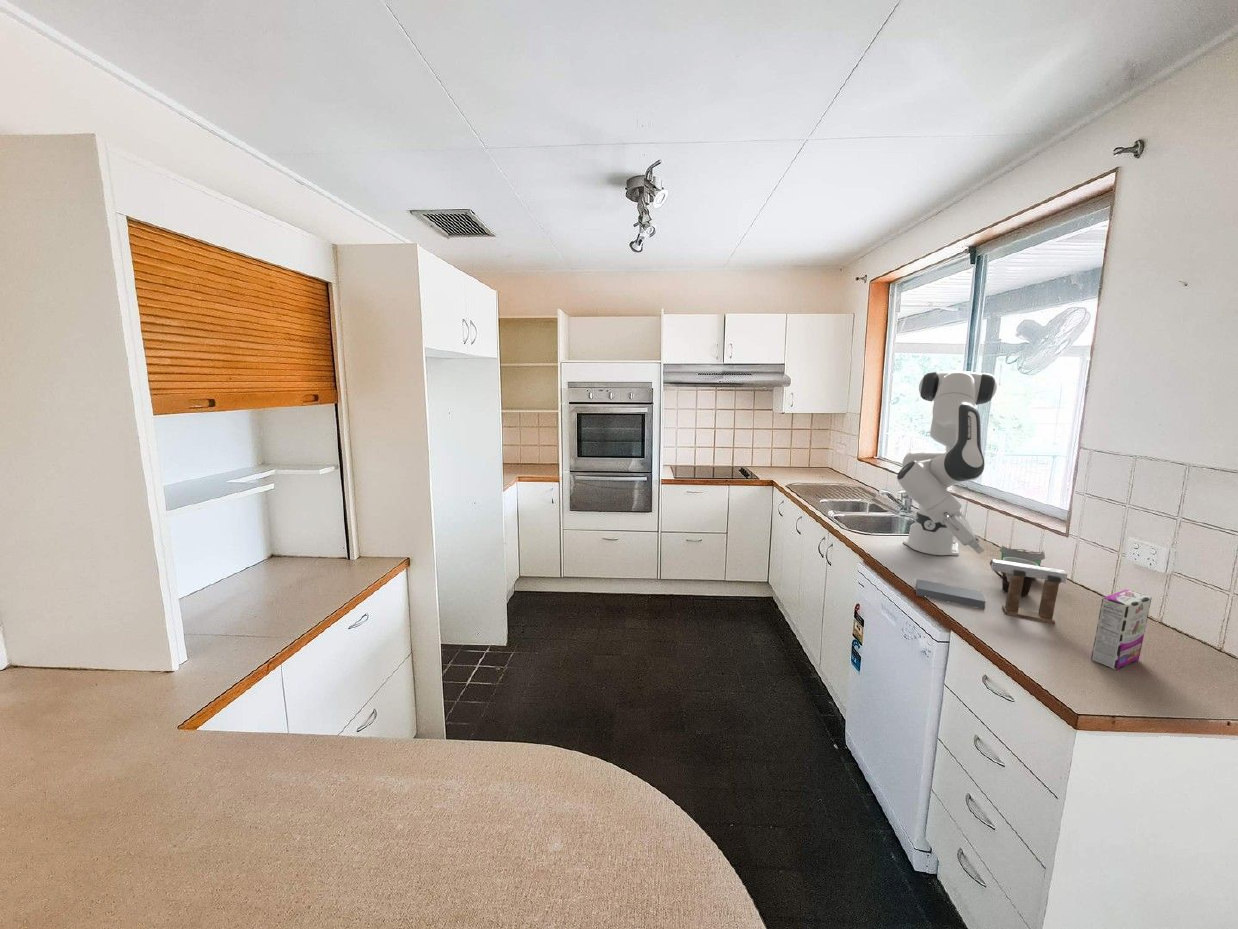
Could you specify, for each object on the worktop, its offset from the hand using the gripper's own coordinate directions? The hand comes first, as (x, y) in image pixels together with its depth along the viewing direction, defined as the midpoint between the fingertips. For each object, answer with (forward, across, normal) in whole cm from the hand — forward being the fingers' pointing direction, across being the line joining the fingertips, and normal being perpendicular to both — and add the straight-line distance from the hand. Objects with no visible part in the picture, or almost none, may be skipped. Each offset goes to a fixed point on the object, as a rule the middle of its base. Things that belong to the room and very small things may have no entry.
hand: (979, 547), depth 141 cm
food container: (+25, +33, +1) cm, 41 cm away
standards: (+22, 0, +3) cm, 22 cm away
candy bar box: (+32, -17, -6) cm, 37 cm away
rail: (+12, 0, -4) cm, 13 cm away
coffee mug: (+22, +20, +4) cm, 30 cm away
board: (+9, +3, +16) cm, 19 cm away
